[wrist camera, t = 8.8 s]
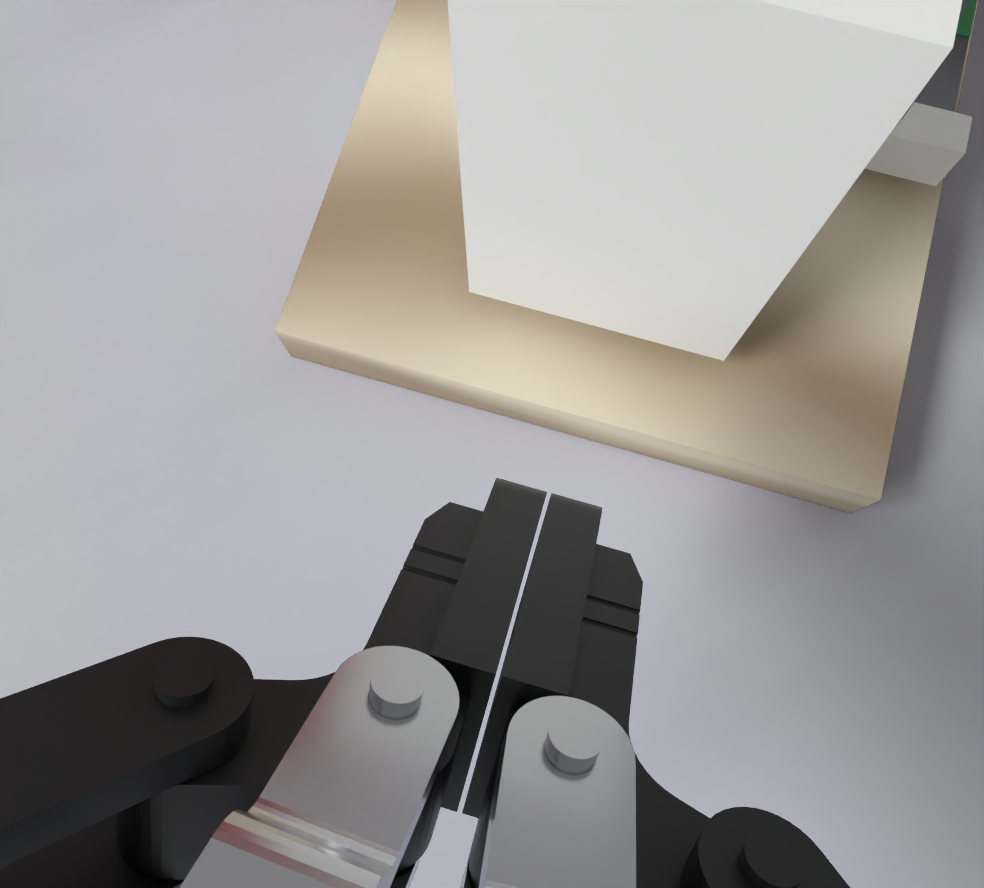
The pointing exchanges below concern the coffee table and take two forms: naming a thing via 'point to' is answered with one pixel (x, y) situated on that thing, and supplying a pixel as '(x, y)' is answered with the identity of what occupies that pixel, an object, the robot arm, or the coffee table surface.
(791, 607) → the coffee table surface
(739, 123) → the block
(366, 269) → the gauge stand
